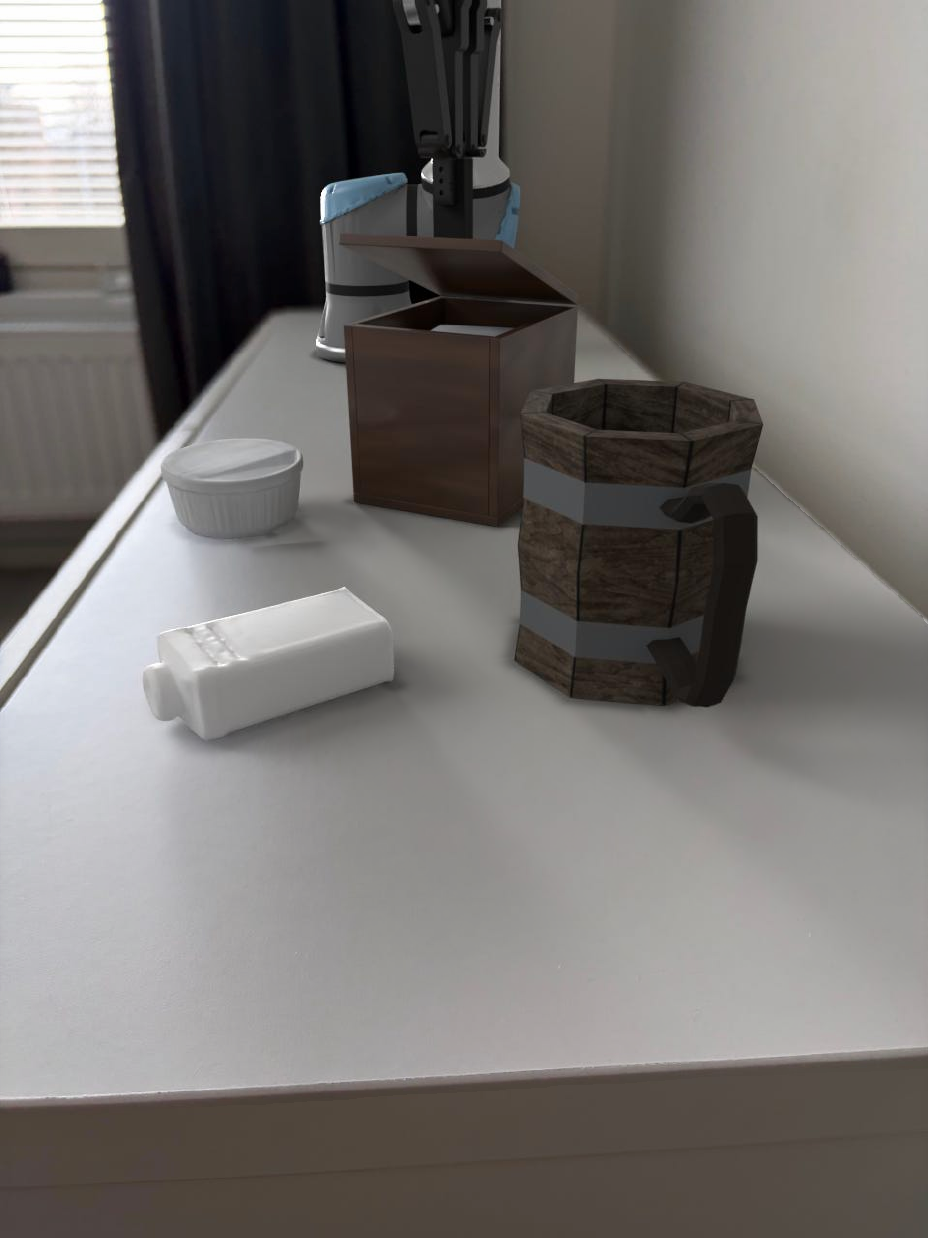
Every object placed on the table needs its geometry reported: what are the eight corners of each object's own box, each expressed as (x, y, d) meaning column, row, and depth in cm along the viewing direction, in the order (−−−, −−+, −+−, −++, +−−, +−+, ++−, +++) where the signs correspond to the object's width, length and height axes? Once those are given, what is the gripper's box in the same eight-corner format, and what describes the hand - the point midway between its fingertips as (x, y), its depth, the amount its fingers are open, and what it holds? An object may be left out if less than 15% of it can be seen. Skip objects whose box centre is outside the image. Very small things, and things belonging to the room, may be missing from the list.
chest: (497, 527, 77) (499, 338, 71) (353, 501, 83) (343, 324, 76) (570, 468, 91) (578, 305, 84) (442, 450, 96) (440, 295, 89)
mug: (487, 611, 64) (489, 384, 57) (678, 592, 66) (701, 372, 59) (583, 788, 46) (602, 493, 40) (835, 752, 49) (894, 470, 42)
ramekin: (280, 550, 73) (273, 483, 71) (144, 540, 75) (133, 475, 73) (325, 500, 83) (321, 440, 81) (204, 493, 85) (196, 434, 82)
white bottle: (137, 703, 54) (124, 636, 52) (344, 641, 60) (339, 579, 58) (175, 760, 49) (162, 688, 47) (395, 686, 55) (393, 620, 53)
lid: (500, 252, 68) (502, 239, 68) (338, 244, 73) (339, 232, 73) (577, 305, 84) (579, 295, 84) (439, 295, 89) (440, 285, 89)
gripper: (445, -98, 72) (448, 240, 82) (351, -137, 61) (369, 256, 72) (538, -108, 69) (529, 244, 79) (456, -152, 58) (459, 261, 69)
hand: (453, 249), depth 76 cm, fingers closed
